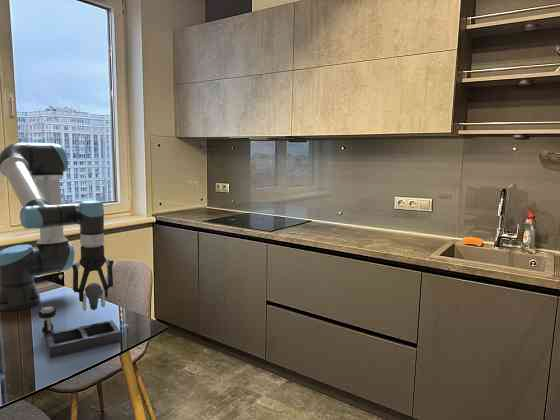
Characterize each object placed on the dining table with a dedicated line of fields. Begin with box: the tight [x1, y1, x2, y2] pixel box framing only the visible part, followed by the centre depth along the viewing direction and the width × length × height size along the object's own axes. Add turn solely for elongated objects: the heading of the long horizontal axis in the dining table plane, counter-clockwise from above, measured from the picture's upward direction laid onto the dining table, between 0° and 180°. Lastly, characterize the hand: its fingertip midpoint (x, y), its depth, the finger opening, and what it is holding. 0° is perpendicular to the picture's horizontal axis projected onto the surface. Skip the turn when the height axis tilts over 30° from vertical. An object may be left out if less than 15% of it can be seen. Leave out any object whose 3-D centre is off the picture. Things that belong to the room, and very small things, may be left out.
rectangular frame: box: [44, 319, 122, 359], centre depth 132 cm, size 11×20×4 cm, turn 126°
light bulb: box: [84, 282, 103, 311], centre depth 144 cm, size 6×6×10 cm
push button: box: [37, 306, 57, 339], centre depth 135 cm, size 7×5×10 cm
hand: (93, 307), depth 145 cm, fingers closed on light bulb, 5 cm apart
